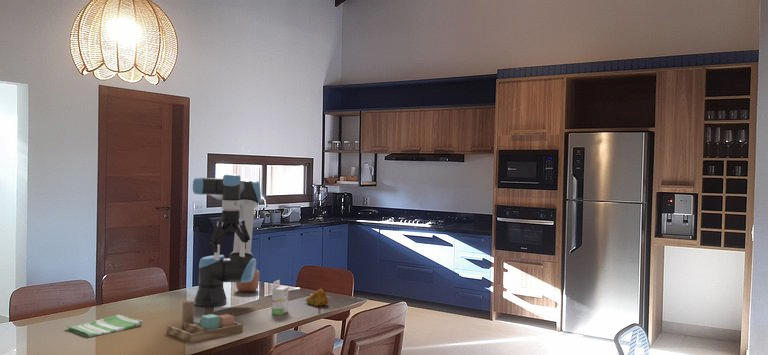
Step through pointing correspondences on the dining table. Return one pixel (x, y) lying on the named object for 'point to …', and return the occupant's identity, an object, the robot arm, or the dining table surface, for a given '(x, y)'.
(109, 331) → the dish towel
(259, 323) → the dining table surface
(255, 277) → the planter
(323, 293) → the rock
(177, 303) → the dining table surface
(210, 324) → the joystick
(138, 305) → the dining table surface
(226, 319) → the terracotta block
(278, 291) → the ink box
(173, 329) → the oak lanes
